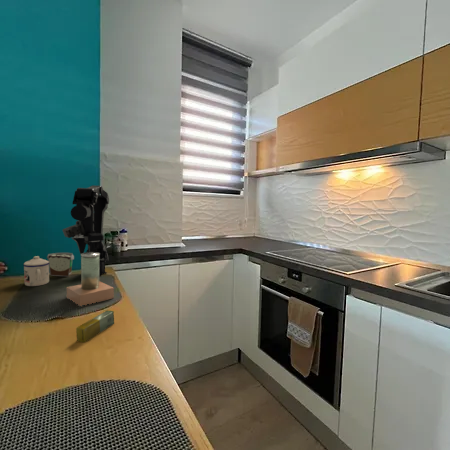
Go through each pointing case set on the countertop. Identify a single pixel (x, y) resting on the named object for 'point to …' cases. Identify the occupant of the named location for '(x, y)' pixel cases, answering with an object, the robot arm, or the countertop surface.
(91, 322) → the medication box
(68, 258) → the food container
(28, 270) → the teacup with lid
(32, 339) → the countertop surface
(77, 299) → the terracotta base
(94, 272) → the sage tin
